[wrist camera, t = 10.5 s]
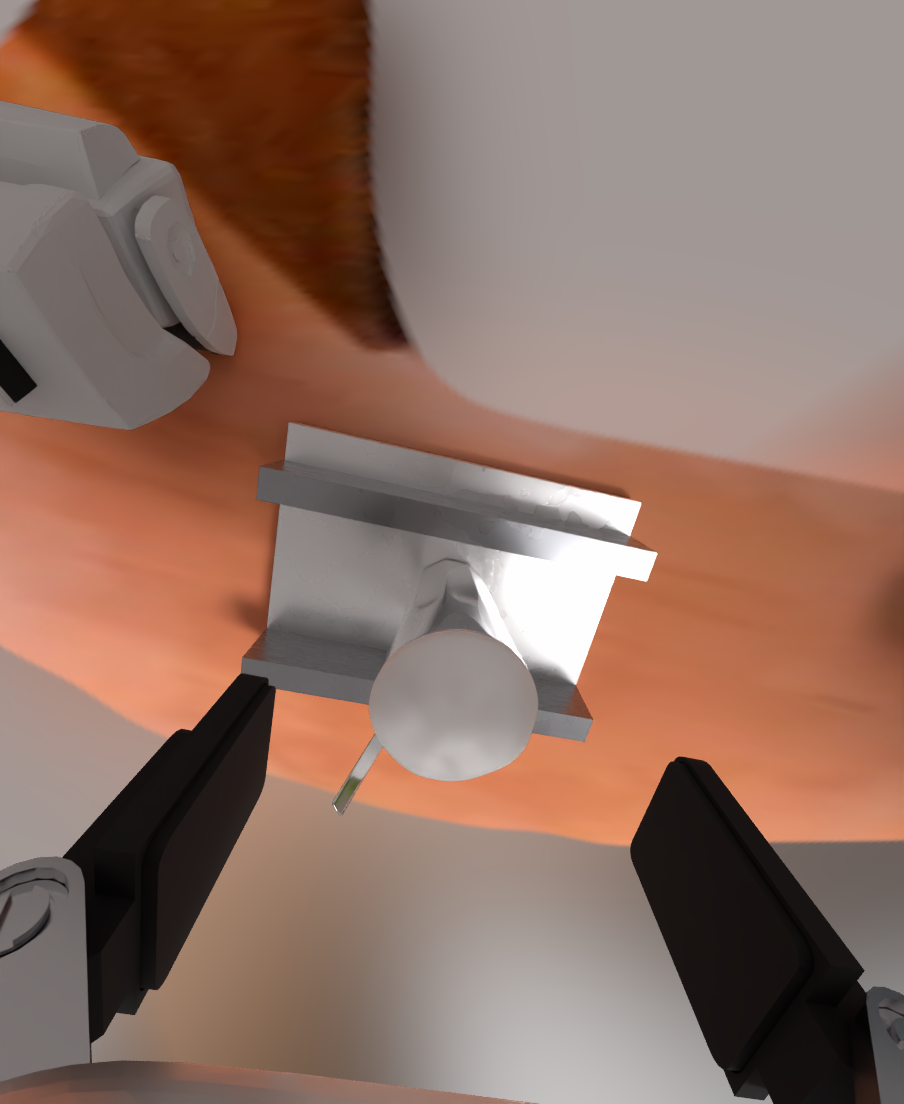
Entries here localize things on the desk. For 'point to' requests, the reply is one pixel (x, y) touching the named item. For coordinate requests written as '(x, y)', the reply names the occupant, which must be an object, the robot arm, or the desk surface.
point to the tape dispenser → (99, 277)
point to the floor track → (423, 540)
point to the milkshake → (448, 686)
